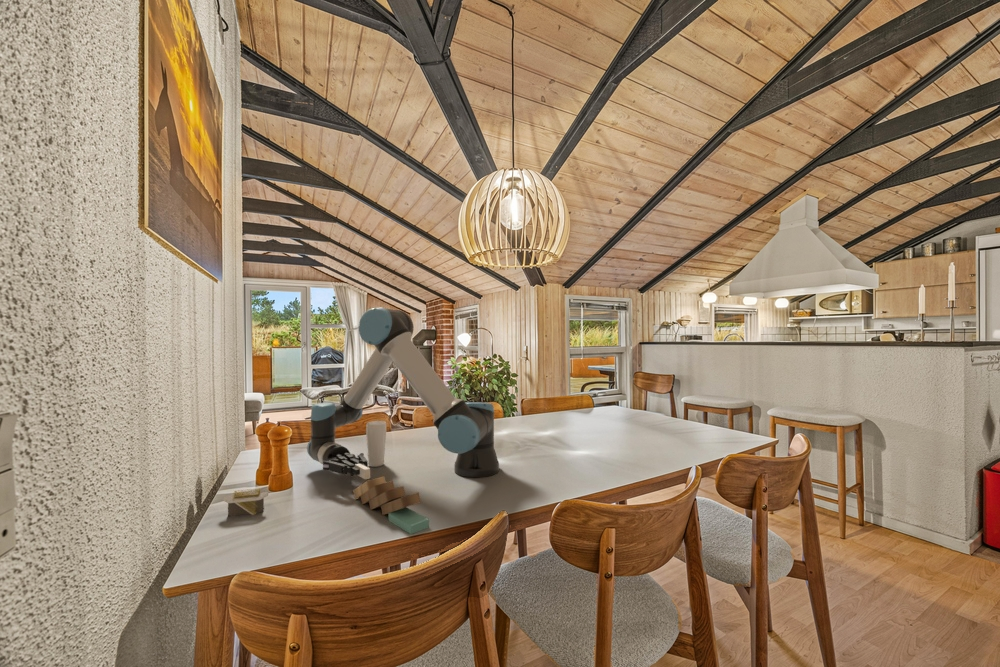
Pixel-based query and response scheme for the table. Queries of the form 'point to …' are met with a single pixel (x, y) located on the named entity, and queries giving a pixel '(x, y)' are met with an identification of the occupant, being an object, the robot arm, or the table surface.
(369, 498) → the domino
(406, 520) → the domino
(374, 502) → the domino
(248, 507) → the platform
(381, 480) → the domino
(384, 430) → the drinking glass
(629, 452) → the table surface
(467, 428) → the robot arm
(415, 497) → the domino
